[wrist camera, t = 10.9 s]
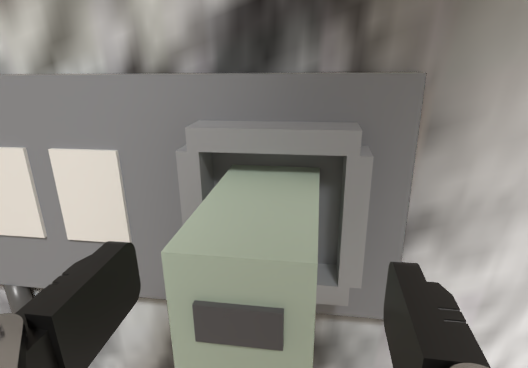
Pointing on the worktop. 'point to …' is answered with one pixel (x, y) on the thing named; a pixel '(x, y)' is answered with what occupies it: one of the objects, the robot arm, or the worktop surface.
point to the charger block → (246, 272)
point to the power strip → (202, 167)
